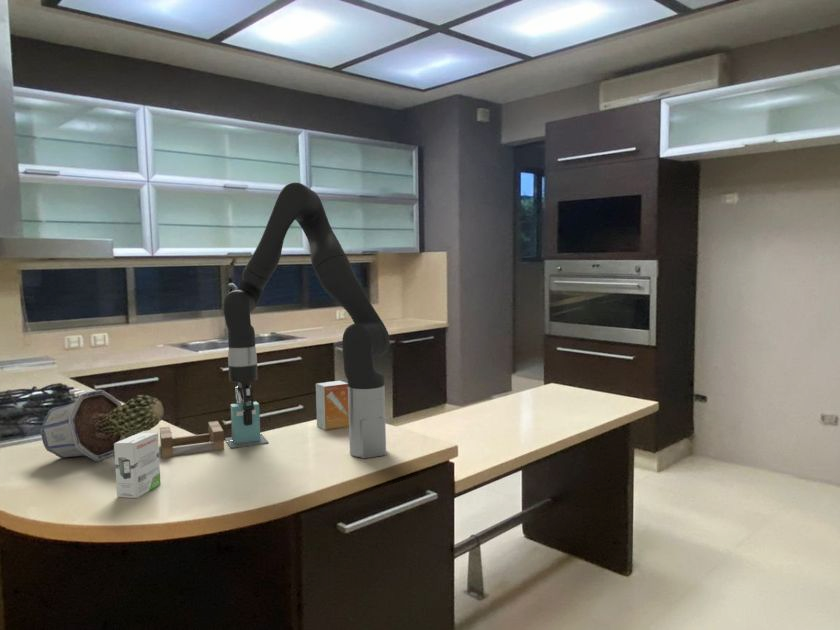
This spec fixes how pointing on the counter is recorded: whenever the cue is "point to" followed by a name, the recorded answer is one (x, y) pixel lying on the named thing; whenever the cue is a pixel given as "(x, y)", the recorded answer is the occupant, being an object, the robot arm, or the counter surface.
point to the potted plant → (97, 424)
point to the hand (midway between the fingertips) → (245, 421)
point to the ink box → (137, 465)
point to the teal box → (239, 429)
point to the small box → (332, 405)
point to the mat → (232, 445)
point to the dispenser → (192, 441)
